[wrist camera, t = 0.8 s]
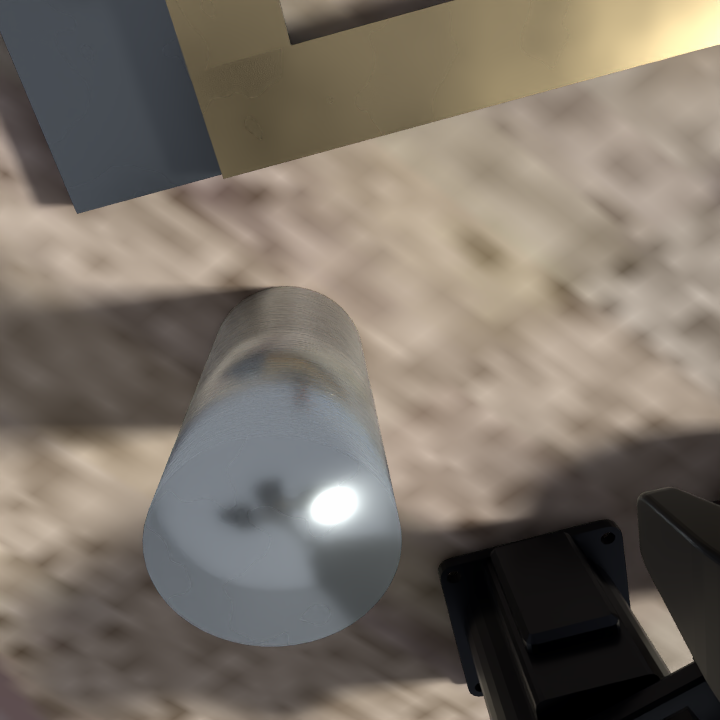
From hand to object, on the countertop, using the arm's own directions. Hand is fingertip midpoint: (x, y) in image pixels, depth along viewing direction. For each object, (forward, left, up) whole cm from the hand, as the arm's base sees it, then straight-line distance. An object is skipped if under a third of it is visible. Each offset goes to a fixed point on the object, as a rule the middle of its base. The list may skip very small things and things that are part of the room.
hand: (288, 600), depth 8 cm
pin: (-1, +1, -12) cm, 12 cm away
